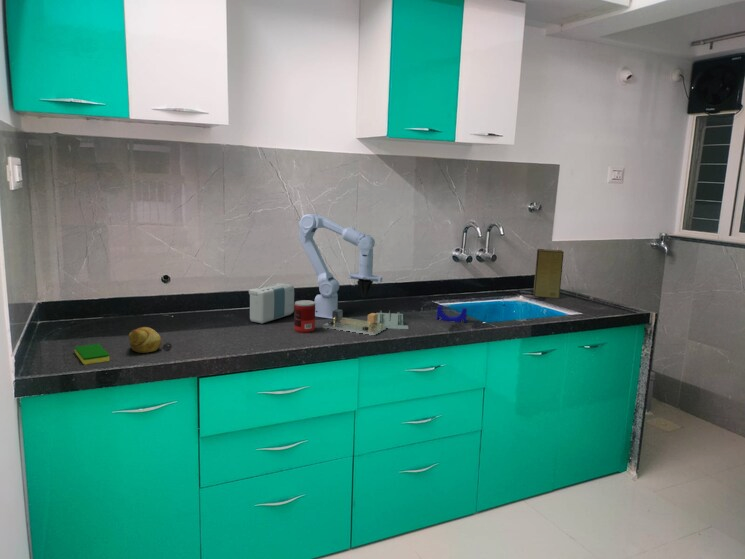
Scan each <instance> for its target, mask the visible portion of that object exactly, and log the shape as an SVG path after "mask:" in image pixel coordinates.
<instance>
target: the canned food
mask: <svg viewBox="0 0 745 559" xmlns="http://www.w3.org/2000/svg"><path fill="white" fill-rule="evenodd" d="M314 301H315V300H314ZM314 301H313V300H307V299H306V300H305V299H301V300H296V301H294V321H293V322H294V324H293V325H294V331H295V332H296V333H299V332H300V334H309V333H308V332H310V333H313V332H315V329H316V316H315V302H314Z"/></svg>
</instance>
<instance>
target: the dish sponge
mask: <svg viewBox="0 0 745 559" xmlns="http://www.w3.org/2000/svg"><path fill="white" fill-rule="evenodd" d="M74 354H75V355H76V356H77V358H78V359H79V360H80V362H81V363H82V364H83V365H86V366H87V365H91V364H98V363H105V362H109V361H110V354H109V353H108V352H107V350H106V349H105V348H104V347H103V346H102V345H101V344H100V343H94V344H93V343H92V344H87V345H79V346H77V345H76V346H74Z"/></svg>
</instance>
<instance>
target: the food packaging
mask: <svg viewBox="0 0 745 559" xmlns="http://www.w3.org/2000/svg"><path fill="white" fill-rule="evenodd" d="M535 262H536V263H535V269H534V270H535V272H534V281H533V293H532V295H533V297H535V298H536V297H537V298H549V299H557V300H558V299H560V296H561V285H562V284H561V283H562V274H563V264H564V263H563V262H564V251H563V250H562V249H548V248H537V251H536V260H535Z"/></svg>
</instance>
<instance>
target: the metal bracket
mask: <svg viewBox="0 0 745 559" xmlns="http://www.w3.org/2000/svg"><path fill="white" fill-rule="evenodd" d="M390 311H391V310H389V312H382V310H380V312H376V314H378V320H377V323H383V325H384V326H387V328H388V329H387V330H400V329H408V330H409V325H407V324H406V325H404V314H403V313H391V312H390Z"/></svg>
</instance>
